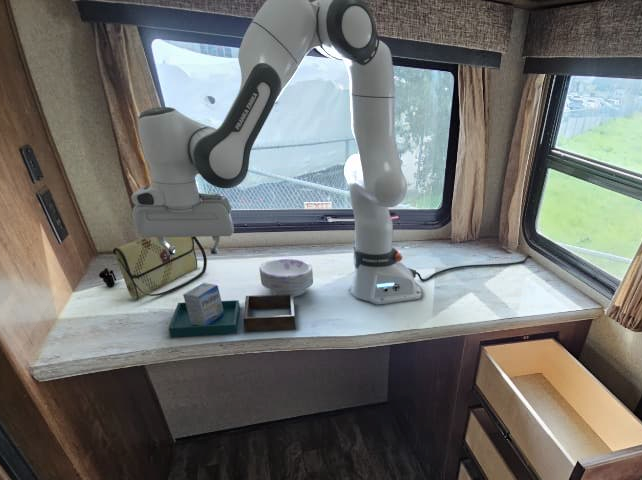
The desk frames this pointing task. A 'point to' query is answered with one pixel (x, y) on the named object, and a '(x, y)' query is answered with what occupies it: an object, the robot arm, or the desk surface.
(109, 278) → the wireless earbuds
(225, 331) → the tray
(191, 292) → the medicine box
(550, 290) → the desk surface
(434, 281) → the desk surface
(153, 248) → the clutch purse
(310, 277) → the paper bowls
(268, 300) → the wooden floating shelf
